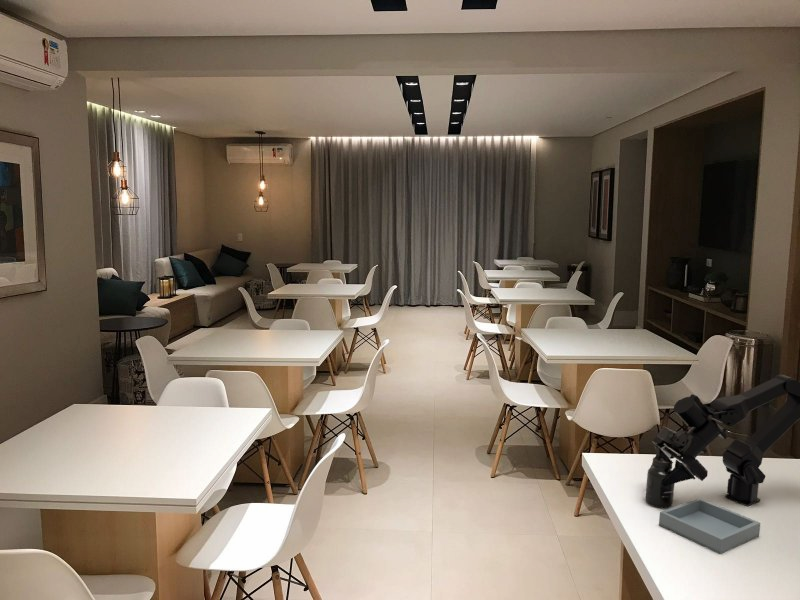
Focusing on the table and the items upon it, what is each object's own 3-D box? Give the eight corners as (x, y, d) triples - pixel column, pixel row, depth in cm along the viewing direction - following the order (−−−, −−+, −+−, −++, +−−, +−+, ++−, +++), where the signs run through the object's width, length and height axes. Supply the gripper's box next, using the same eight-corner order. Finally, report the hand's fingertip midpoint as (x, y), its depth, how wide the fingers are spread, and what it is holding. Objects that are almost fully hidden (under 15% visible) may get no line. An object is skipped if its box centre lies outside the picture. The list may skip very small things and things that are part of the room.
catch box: (759, 536, 161) (760, 522, 160) (720, 554, 152) (721, 539, 151) (697, 510, 174) (698, 497, 173) (658, 525, 165) (659, 511, 165)
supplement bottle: (670, 511, 173) (673, 466, 171) (642, 504, 177) (645, 461, 175) (675, 501, 179) (678, 458, 177) (648, 495, 182) (651, 453, 181)
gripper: (661, 406, 184) (620, 446, 184) (700, 429, 166) (654, 473, 166) (686, 434, 186) (645, 473, 186) (727, 459, 168) (682, 502, 168)
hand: (655, 479), depth 177 cm, fingers closed on supplement bottle, 7 cm apart
